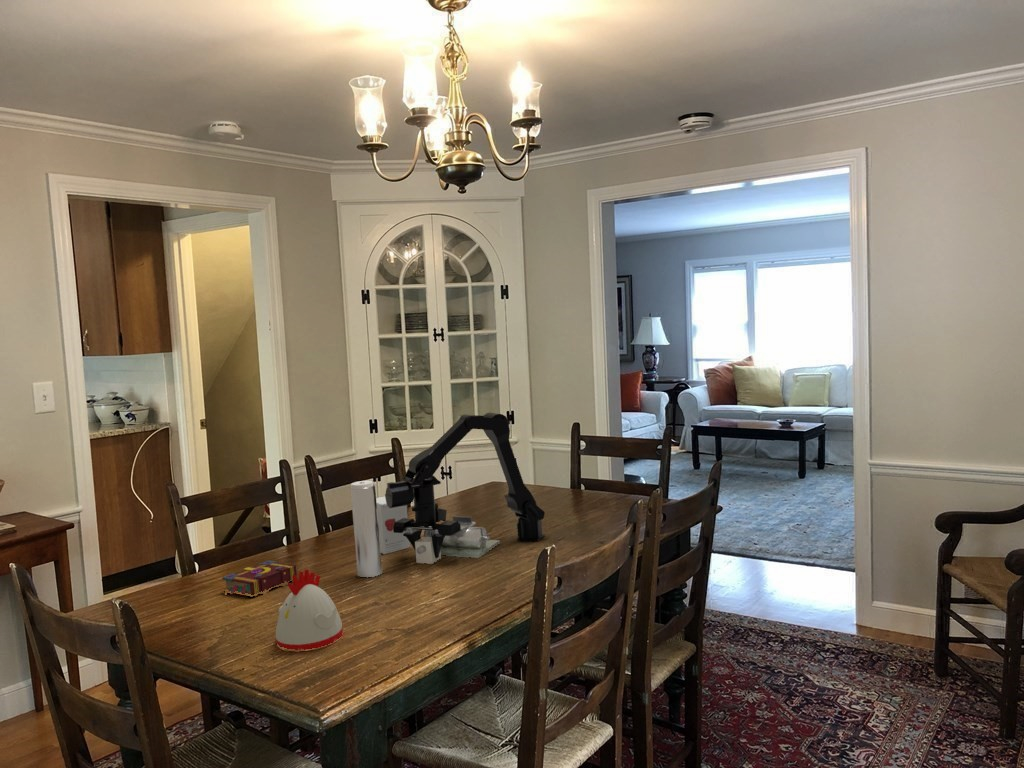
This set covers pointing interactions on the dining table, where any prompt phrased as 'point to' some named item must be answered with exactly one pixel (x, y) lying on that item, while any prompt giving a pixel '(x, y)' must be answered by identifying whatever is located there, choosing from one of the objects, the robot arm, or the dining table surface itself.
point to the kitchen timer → (307, 616)
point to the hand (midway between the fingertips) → (428, 557)
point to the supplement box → (390, 527)
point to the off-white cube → (425, 551)
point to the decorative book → (260, 577)
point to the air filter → (366, 529)
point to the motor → (466, 540)
